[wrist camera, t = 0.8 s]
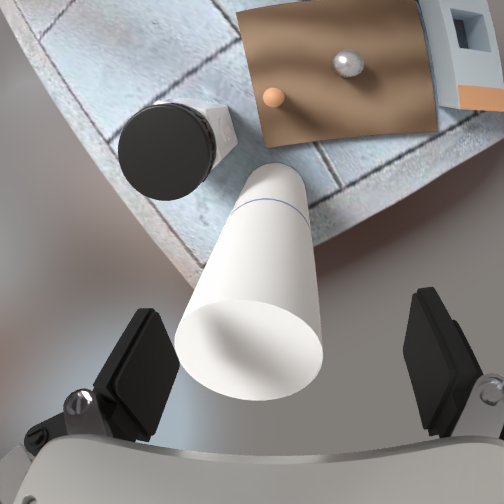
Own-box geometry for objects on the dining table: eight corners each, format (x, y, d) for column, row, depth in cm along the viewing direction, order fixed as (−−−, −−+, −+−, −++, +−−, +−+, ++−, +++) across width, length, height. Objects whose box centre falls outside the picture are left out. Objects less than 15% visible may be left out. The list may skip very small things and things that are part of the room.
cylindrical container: (317, 198, 36) (349, 369, 14) (269, 231, 39) (239, 412, 17) (280, 150, 34) (258, 269, 12) (232, 187, 36) (146, 339, 15)
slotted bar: (408, -32, 20) (423, -47, 16) (456, -24, 19) (475, -35, 14) (438, 105, 28) (459, 109, 24) (483, 107, 27) (507, 112, 22)
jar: (245, 161, 35) (224, 193, 24) (180, 178, 37) (137, 215, 26) (224, 86, 31) (191, 84, 20) (158, 109, 33) (103, 120, 22)
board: (237, 14, 26) (235, 12, 26) (411, 2, 23) (414, 0, 22) (266, 146, 34) (265, 148, 33) (433, 130, 30) (437, 131, 29)
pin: (266, 90, 30) (261, 89, 24) (283, 87, 29) (281, 86, 24) (269, 106, 30) (265, 108, 25) (286, 103, 30) (285, 105, 25)
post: (329, 54, 27) (333, 50, 24) (355, 52, 26) (361, 48, 24) (334, 78, 28) (338, 77, 25) (359, 76, 28) (366, 75, 25)
